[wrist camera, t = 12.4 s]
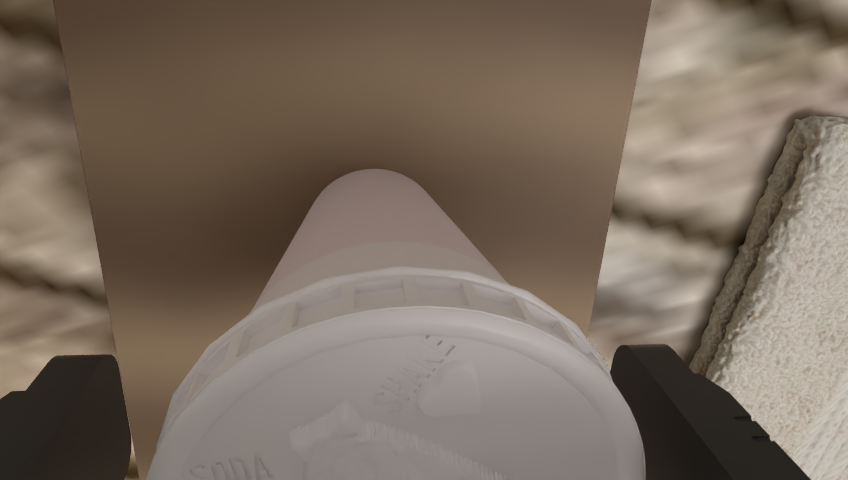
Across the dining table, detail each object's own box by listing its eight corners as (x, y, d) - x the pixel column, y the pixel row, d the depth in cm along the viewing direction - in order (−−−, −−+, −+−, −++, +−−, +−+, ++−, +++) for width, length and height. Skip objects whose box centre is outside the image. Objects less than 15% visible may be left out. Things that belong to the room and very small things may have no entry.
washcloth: (625, 480, 27) (657, 536, 25) (778, 98, 21) (846, 116, 18) (839, 490, 30) (891, 543, 27) (1040, 148, 23) (1137, 170, 20)
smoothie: (339, 367, 18) (317, 1357, 5) (203, 197, 15) (-585, 1338, 2) (525, 264, 17) (1060, 1090, 4) (416, 68, 14) (937, 661, 2)
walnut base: (97, -143, 15) (20, -184, 12) (605, -101, 17) (675, -125, 13) (175, 410, 22) (142, 492, 19) (529, 397, 24) (561, 470, 20)
